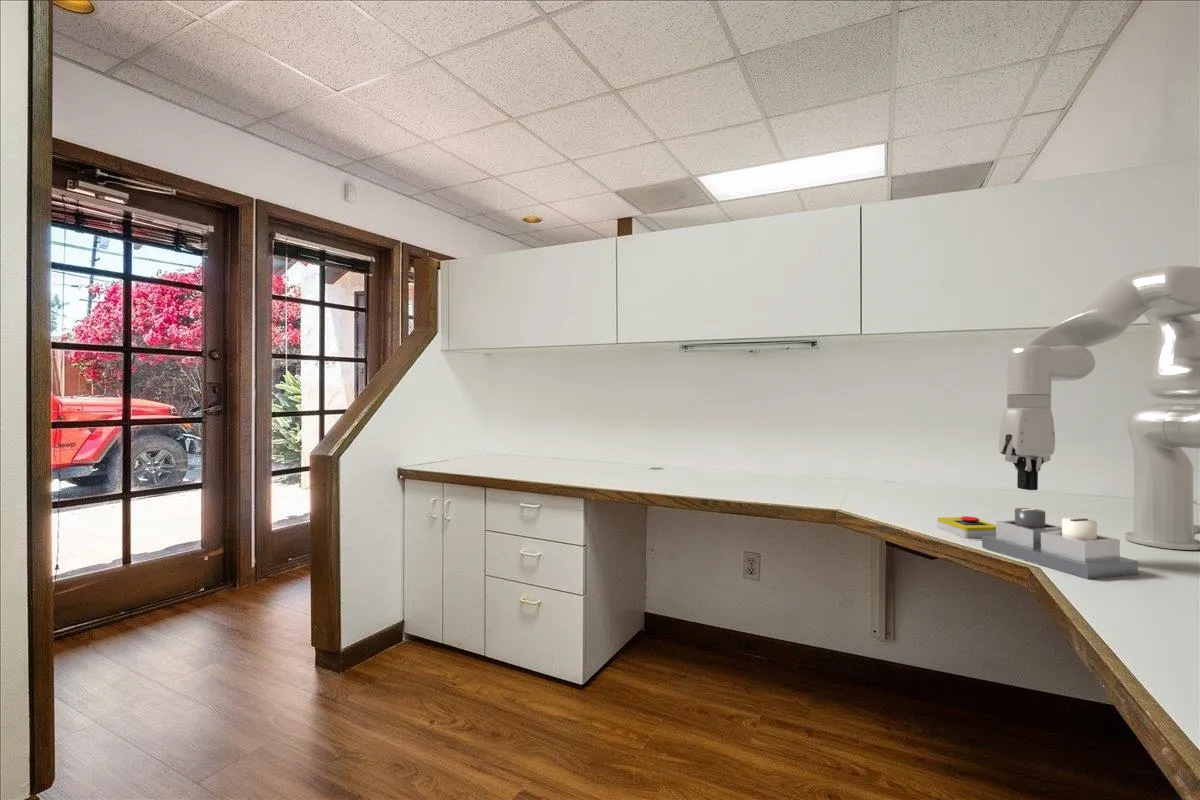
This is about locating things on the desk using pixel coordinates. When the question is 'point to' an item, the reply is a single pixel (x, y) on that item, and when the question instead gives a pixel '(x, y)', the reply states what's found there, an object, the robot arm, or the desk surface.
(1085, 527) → the knob ivory
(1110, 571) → the mount
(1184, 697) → the desk surface
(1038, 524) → the knob black
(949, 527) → the emergency button
